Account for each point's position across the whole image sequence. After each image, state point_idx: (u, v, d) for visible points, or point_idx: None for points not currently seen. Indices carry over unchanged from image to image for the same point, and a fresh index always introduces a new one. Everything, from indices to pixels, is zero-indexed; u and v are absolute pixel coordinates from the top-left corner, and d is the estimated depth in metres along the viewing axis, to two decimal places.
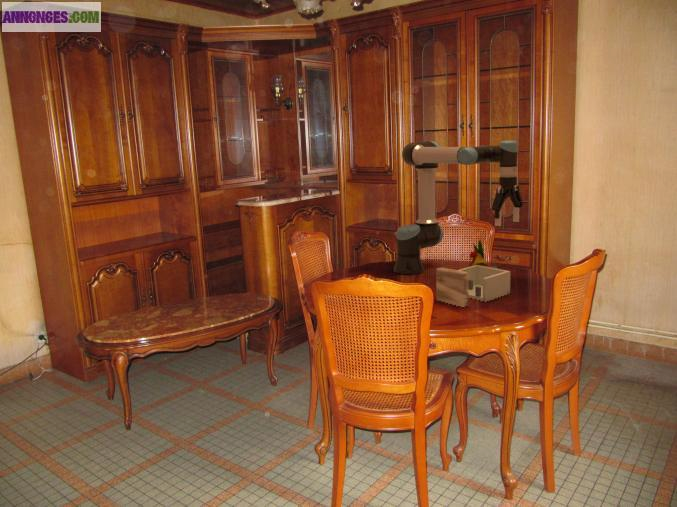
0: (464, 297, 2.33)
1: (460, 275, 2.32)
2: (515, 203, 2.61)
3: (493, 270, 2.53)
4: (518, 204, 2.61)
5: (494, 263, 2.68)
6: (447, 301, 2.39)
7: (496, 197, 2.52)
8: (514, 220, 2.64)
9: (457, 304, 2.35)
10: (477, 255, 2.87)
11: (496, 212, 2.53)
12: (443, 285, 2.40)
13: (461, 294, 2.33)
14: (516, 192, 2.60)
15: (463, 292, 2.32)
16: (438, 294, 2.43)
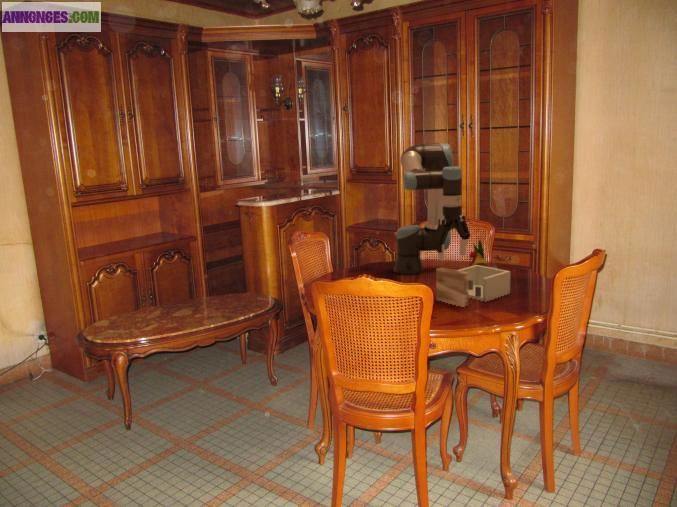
0: (464, 297, 2.33)
1: (460, 275, 2.32)
2: (461, 235, 2.37)
3: (493, 270, 2.53)
4: (465, 236, 2.37)
5: (494, 263, 2.68)
6: (447, 301, 2.39)
7: (438, 229, 2.28)
8: (461, 253, 2.40)
9: (457, 304, 2.35)
10: (477, 255, 2.87)
11: (438, 245, 2.29)
12: (443, 285, 2.40)
13: (461, 294, 2.33)
14: (462, 223, 2.36)
15: (463, 292, 2.32)
16: (438, 294, 2.43)
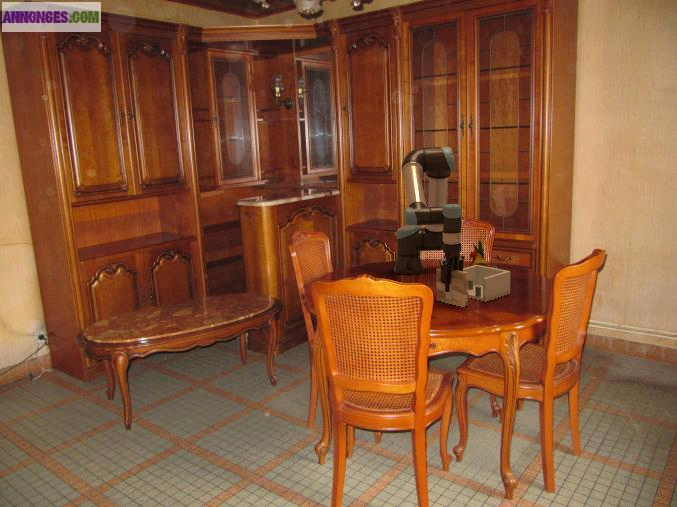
0: (464, 297, 2.33)
1: (460, 275, 2.32)
2: None
3: (493, 270, 2.53)
4: None
5: (494, 263, 2.68)
6: (447, 301, 2.39)
7: (442, 270, 2.33)
8: None
9: (457, 304, 2.35)
10: (477, 255, 2.87)
11: (446, 285, 2.36)
12: (443, 285, 2.40)
13: (461, 294, 2.33)
14: (460, 262, 2.39)
15: (463, 292, 2.32)
16: (438, 294, 2.43)
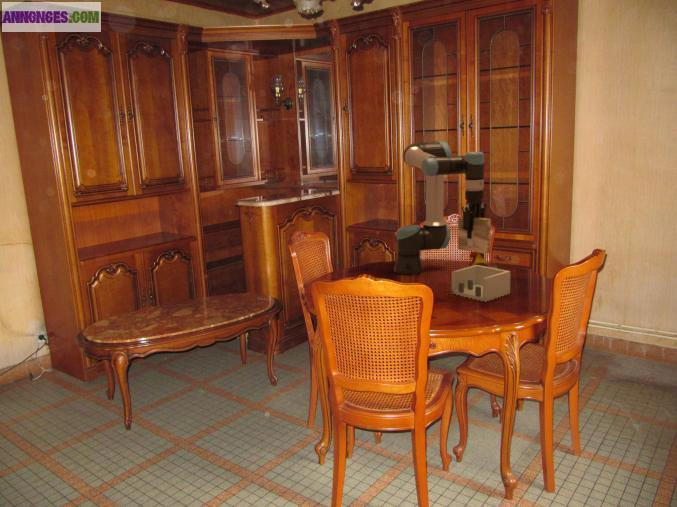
0: (486, 243, 2.37)
1: (482, 221, 2.36)
2: None
3: (493, 270, 2.53)
4: None
5: (494, 263, 2.68)
6: (469, 248, 2.44)
7: (464, 216, 2.38)
8: None
9: (479, 250, 2.40)
10: (477, 255, 2.87)
11: (468, 232, 2.40)
12: (465, 232, 2.44)
13: (483, 240, 2.37)
14: (482, 210, 2.43)
15: (485, 238, 2.37)
16: (460, 242, 2.47)
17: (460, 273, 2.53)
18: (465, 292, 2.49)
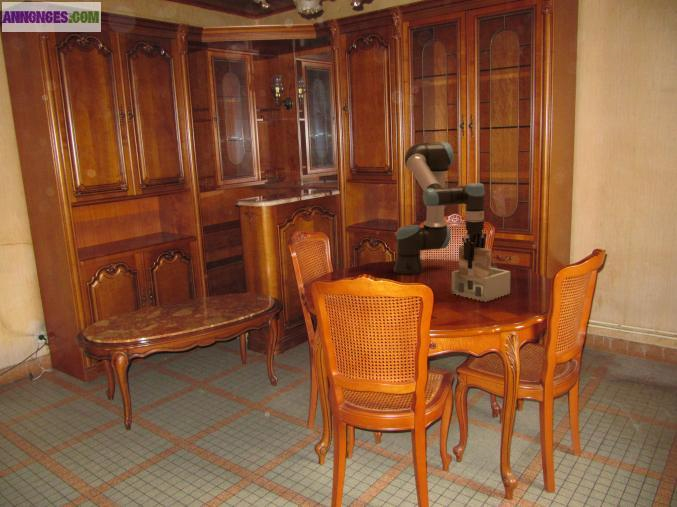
0: (486, 273, 2.40)
1: (483, 252, 2.39)
2: None
3: (493, 270, 2.53)
4: None
5: (494, 263, 2.68)
6: (470, 278, 2.47)
7: (465, 247, 2.41)
8: None
9: (480, 280, 2.43)
10: None
11: (469, 262, 2.43)
12: (466, 262, 2.47)
13: (484, 270, 2.40)
14: (482, 240, 2.46)
15: (486, 268, 2.40)
16: (460, 271, 2.50)
17: None
18: (465, 292, 2.49)
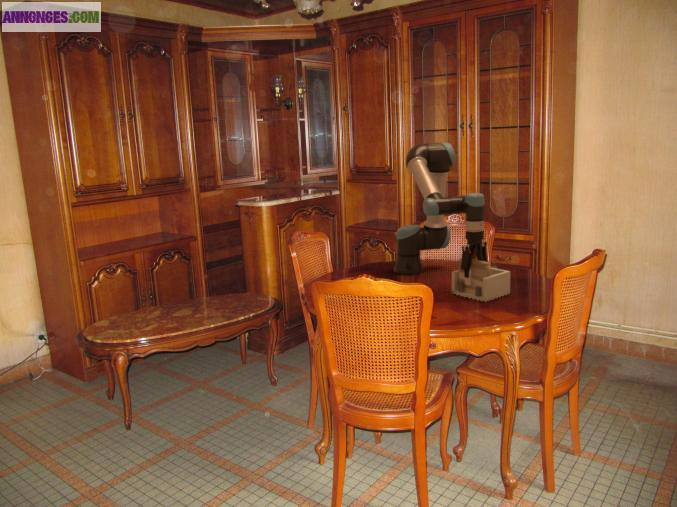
0: None
1: (483, 265, 2.40)
2: (480, 260, 2.48)
3: (493, 270, 2.53)
4: None
5: (494, 263, 2.68)
6: (469, 290, 2.48)
7: (463, 255, 2.41)
8: None
9: None
10: None
11: (466, 271, 2.43)
12: None
13: None
14: (483, 248, 2.47)
15: None
16: None
17: None
18: (465, 292, 2.49)
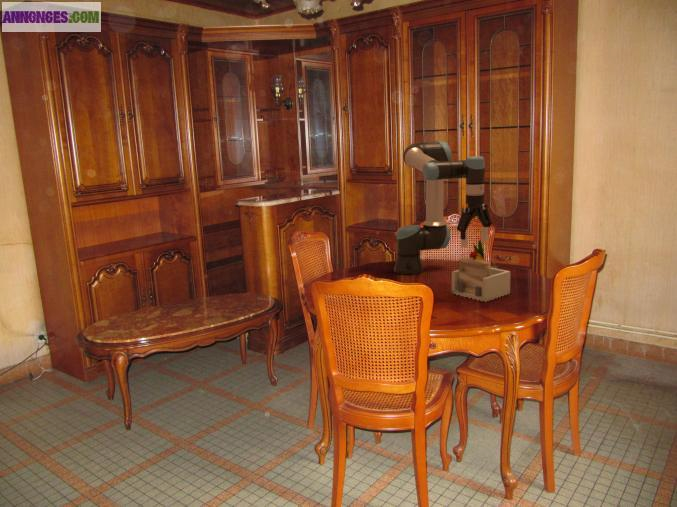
0: None
1: (483, 265, 2.40)
2: (483, 222, 2.46)
3: (493, 270, 2.53)
4: (486, 223, 2.45)
5: (494, 263, 2.68)
6: (469, 290, 2.48)
7: (462, 217, 2.37)
8: (483, 240, 2.48)
9: None
10: (477, 255, 2.87)
11: (462, 233, 2.37)
12: (465, 274, 2.48)
13: None
14: (484, 211, 2.44)
15: None
16: None
17: None
18: (465, 292, 2.49)
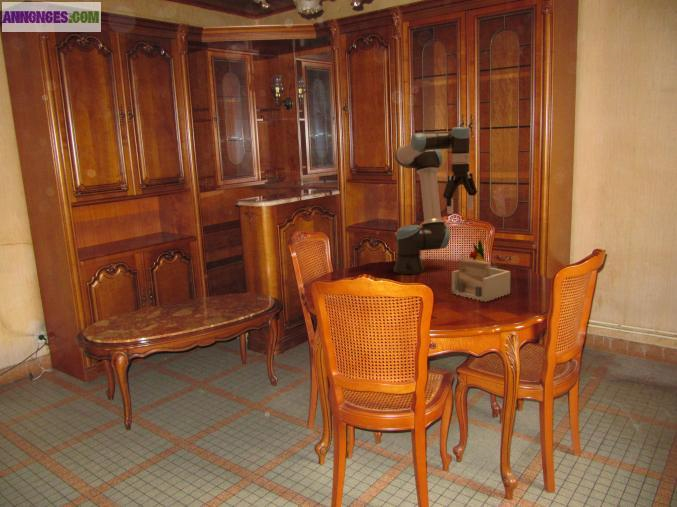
0: None
1: (483, 265, 2.40)
2: (469, 191, 2.57)
3: (493, 270, 2.53)
4: (472, 192, 2.57)
5: (494, 263, 2.68)
6: (469, 290, 2.48)
7: (448, 184, 2.48)
8: (468, 208, 2.59)
9: None
10: (477, 255, 2.87)
11: (448, 199, 2.49)
12: (465, 274, 2.48)
13: None
14: (470, 179, 2.56)
15: None
16: None
17: None
18: (465, 292, 2.49)
